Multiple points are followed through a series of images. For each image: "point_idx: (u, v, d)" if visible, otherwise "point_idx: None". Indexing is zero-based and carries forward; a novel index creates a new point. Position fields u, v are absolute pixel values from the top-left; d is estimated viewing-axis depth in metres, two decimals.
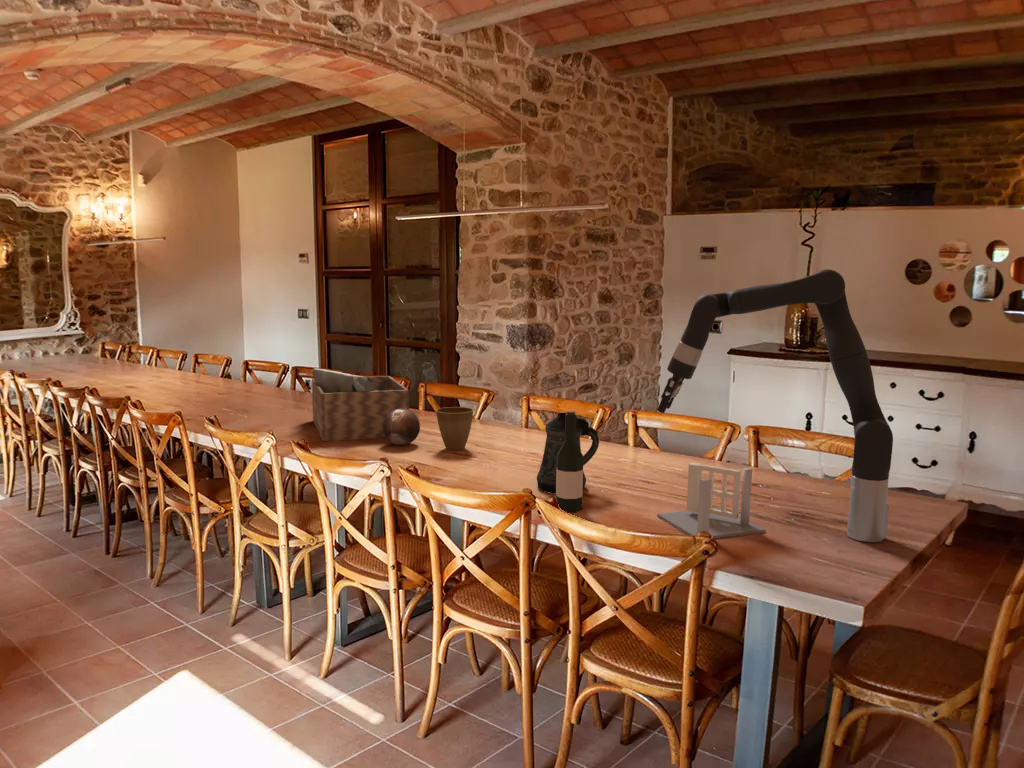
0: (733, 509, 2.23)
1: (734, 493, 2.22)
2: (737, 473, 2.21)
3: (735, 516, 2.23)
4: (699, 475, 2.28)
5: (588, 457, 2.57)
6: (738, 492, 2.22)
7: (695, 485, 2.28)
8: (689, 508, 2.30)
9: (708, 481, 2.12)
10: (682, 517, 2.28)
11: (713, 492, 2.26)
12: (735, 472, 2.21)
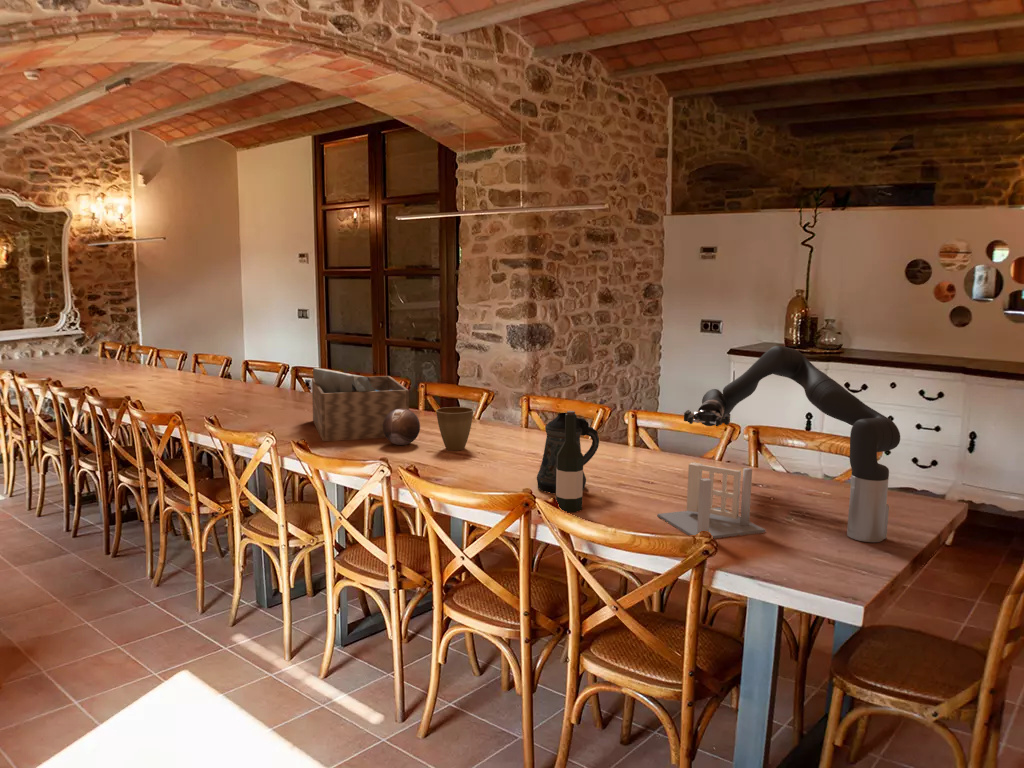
0: (733, 509, 2.23)
1: (734, 493, 2.22)
2: (737, 473, 2.21)
3: (735, 516, 2.23)
4: (699, 475, 2.28)
5: (588, 457, 2.57)
6: (738, 492, 2.22)
7: (695, 485, 2.28)
8: (689, 508, 2.30)
9: (708, 481, 2.12)
10: (682, 517, 2.28)
11: (713, 492, 2.26)
12: (735, 472, 2.21)
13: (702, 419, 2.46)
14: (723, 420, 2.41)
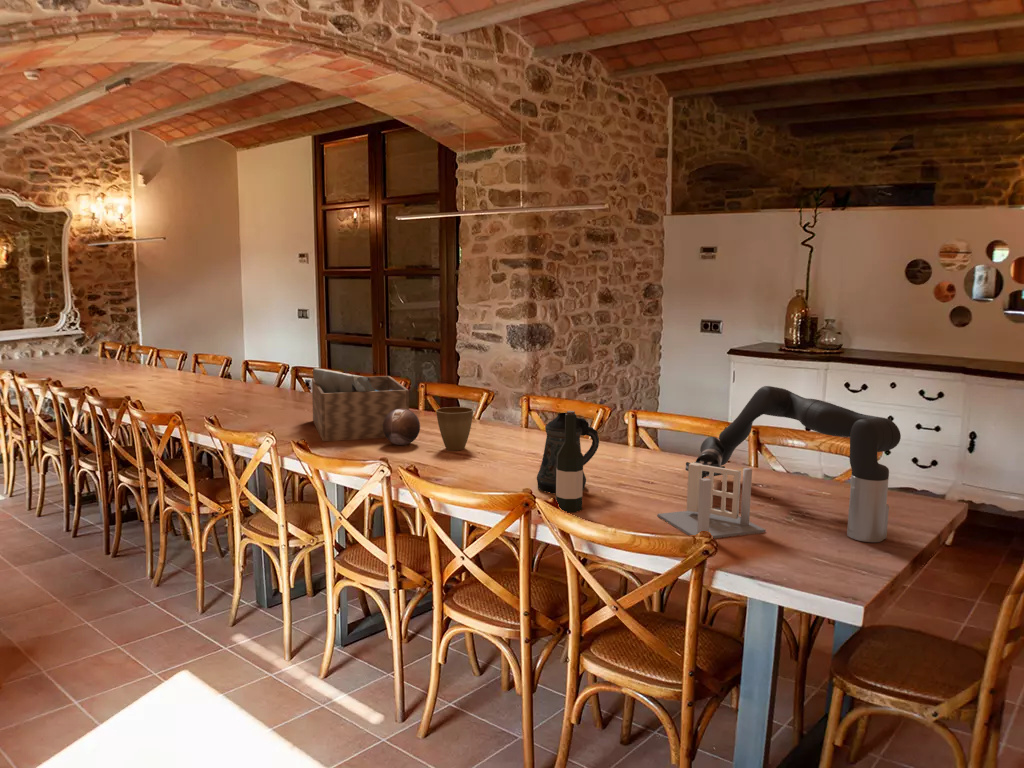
0: (733, 509, 2.23)
1: (734, 493, 2.22)
2: (737, 473, 2.21)
3: (735, 516, 2.23)
4: (699, 475, 2.28)
5: (588, 457, 2.57)
6: (738, 492, 2.22)
7: (695, 485, 2.28)
8: (689, 508, 2.30)
9: (708, 481, 2.12)
10: (682, 517, 2.28)
11: (713, 492, 2.26)
12: (735, 472, 2.21)
13: None
14: (708, 472, 2.45)
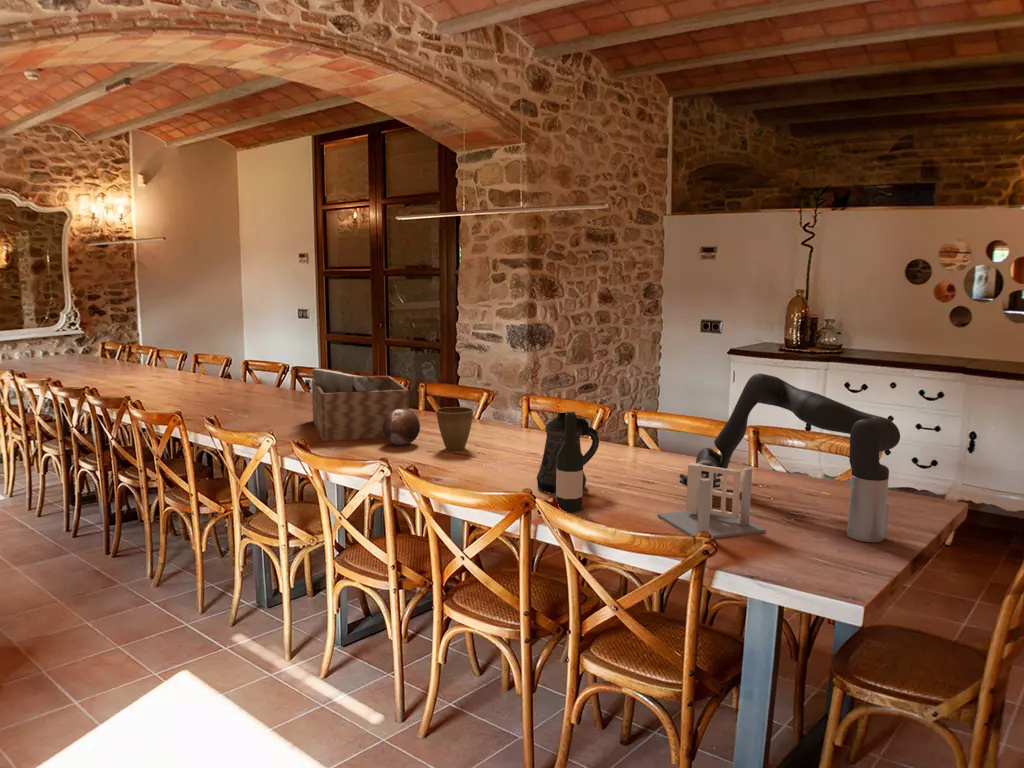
0: (733, 509, 2.23)
1: (734, 493, 2.22)
2: (737, 473, 2.21)
3: (735, 516, 2.23)
4: (699, 475, 2.28)
5: (588, 457, 2.57)
6: (738, 492, 2.22)
7: (694, 486, 2.28)
8: (689, 508, 2.30)
9: (708, 481, 2.12)
10: (682, 517, 2.28)
11: (713, 492, 2.26)
12: (735, 472, 2.21)
13: None
14: None
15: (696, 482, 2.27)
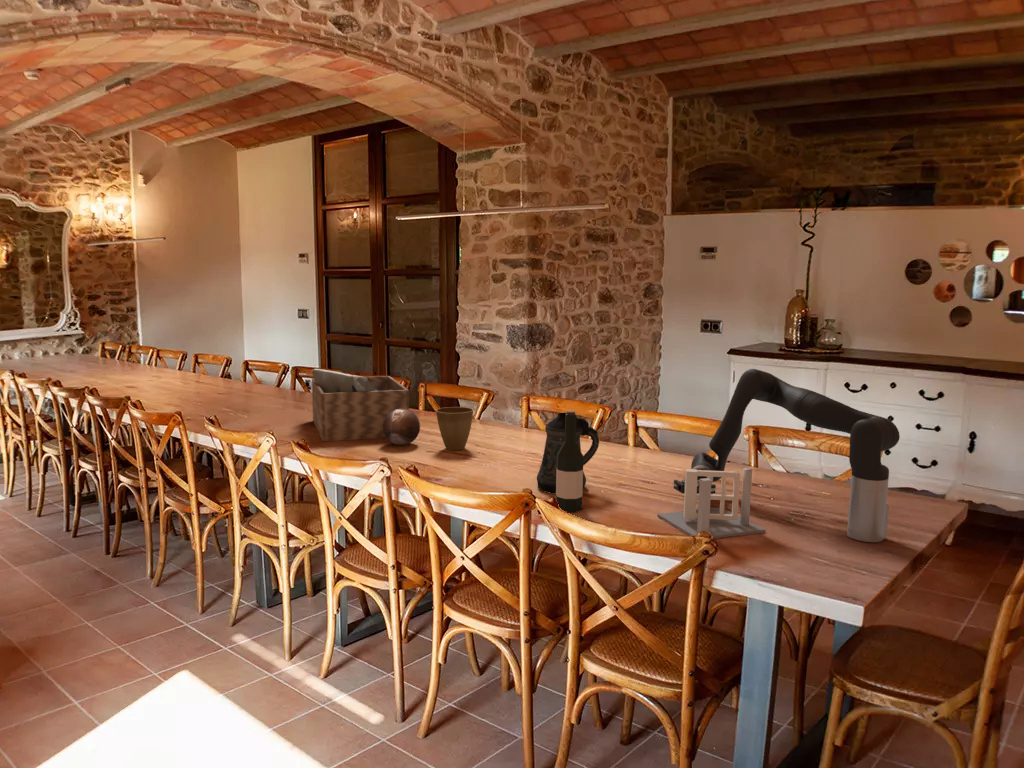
0: (734, 511, 2.21)
1: (735, 495, 2.20)
2: (738, 474, 2.20)
3: (736, 517, 2.21)
4: None
5: (588, 457, 2.57)
6: None
7: (694, 492, 2.21)
8: (687, 516, 2.22)
9: (708, 481, 2.12)
10: (682, 517, 2.28)
11: (712, 497, 2.21)
12: (736, 474, 2.20)
13: None
14: (697, 491, 2.27)
15: (695, 488, 2.21)
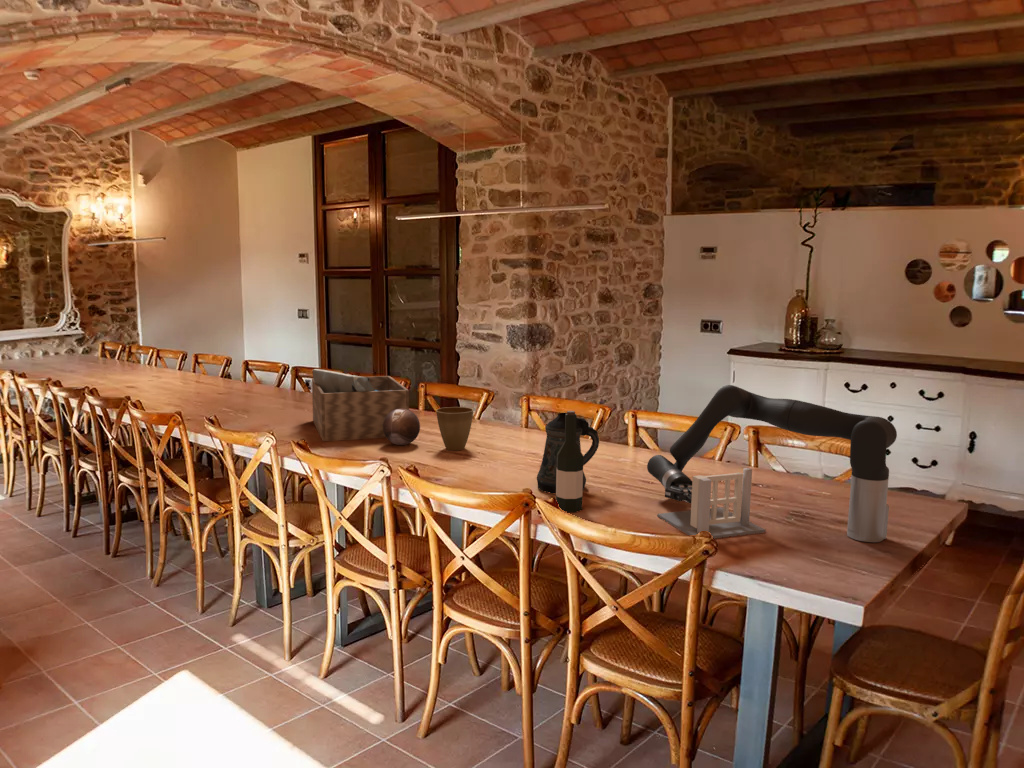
0: (737, 512, 2.20)
1: (738, 496, 2.19)
2: (741, 475, 2.18)
3: (739, 519, 2.20)
4: None
5: (588, 457, 2.57)
6: None
7: None
8: None
9: (708, 481, 2.12)
10: (682, 517, 2.28)
11: (719, 501, 2.17)
12: (739, 475, 2.18)
13: None
14: None
15: None
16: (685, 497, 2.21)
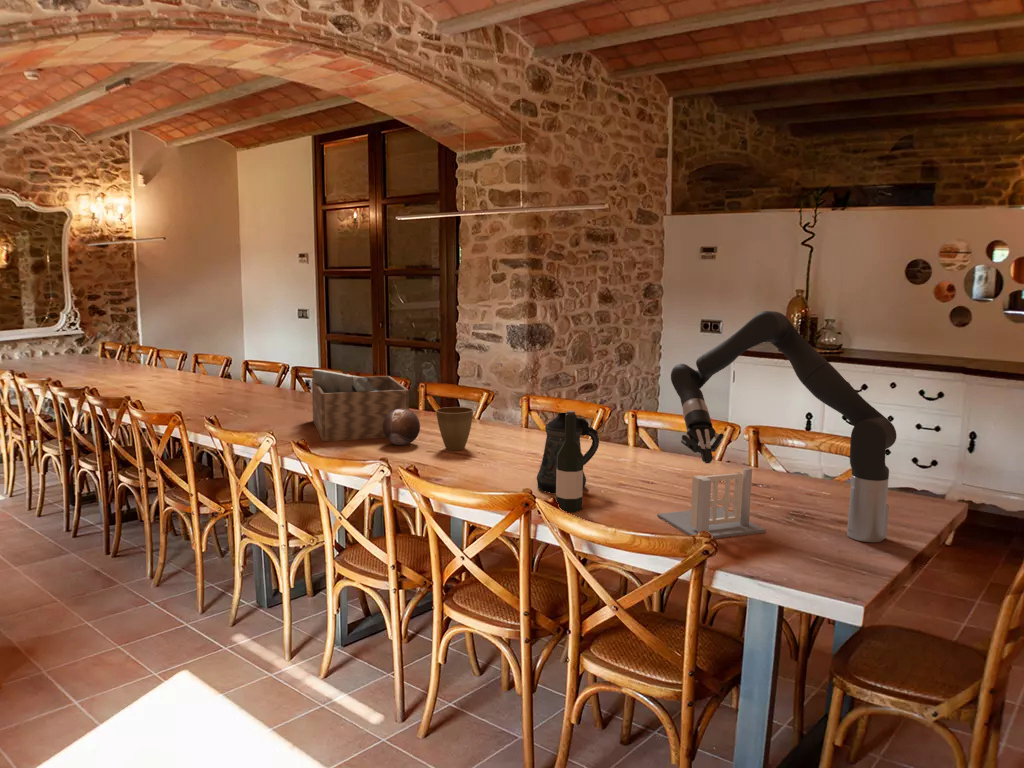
0: (737, 512, 2.20)
1: (738, 496, 2.19)
2: (741, 475, 2.18)
3: (739, 519, 2.20)
4: None
5: (588, 457, 2.57)
6: None
7: None
8: None
9: (708, 481, 2.12)
10: (682, 517, 2.28)
11: (719, 501, 2.17)
12: (739, 475, 2.18)
13: (704, 441, 2.31)
14: (711, 450, 2.28)
15: None
16: (700, 451, 2.28)
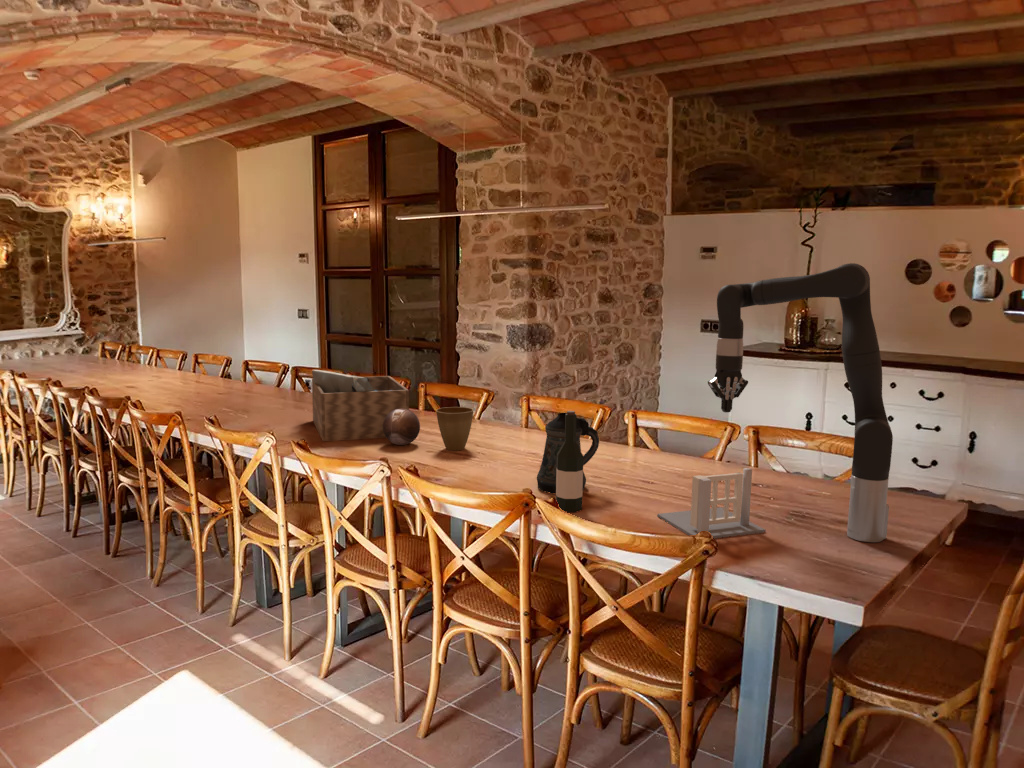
0: (737, 512, 2.20)
1: (738, 496, 2.19)
2: (741, 475, 2.18)
3: (739, 519, 2.20)
4: None
5: (588, 457, 2.57)
6: None
7: None
8: None
9: (708, 481, 2.12)
10: (682, 517, 2.28)
11: (719, 501, 2.17)
12: (739, 475, 2.18)
13: None
14: None
15: None
16: (722, 399, 2.29)
